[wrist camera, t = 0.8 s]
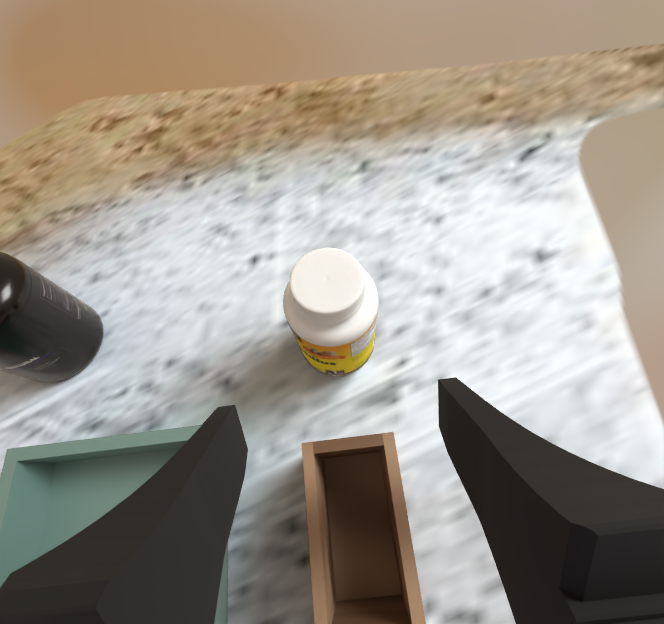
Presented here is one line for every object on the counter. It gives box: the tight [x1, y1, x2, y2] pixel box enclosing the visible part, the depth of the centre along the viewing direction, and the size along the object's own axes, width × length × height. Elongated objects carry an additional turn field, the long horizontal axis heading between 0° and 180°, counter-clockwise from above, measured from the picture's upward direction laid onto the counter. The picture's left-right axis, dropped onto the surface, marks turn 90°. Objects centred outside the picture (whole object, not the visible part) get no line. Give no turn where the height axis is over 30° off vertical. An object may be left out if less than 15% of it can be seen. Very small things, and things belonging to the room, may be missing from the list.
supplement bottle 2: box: [283, 248, 378, 376], centre depth 24 cm, size 6×6×10 cm
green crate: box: [0, 425, 228, 624], centre depth 22 cm, size 13×13×4 cm
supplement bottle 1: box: [0, 252, 103, 382], centre depth 25 cm, size 7×7×12 cm
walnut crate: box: [302, 432, 426, 624], centre depth 21 cm, size 9×5×6 cm, turn 6°
